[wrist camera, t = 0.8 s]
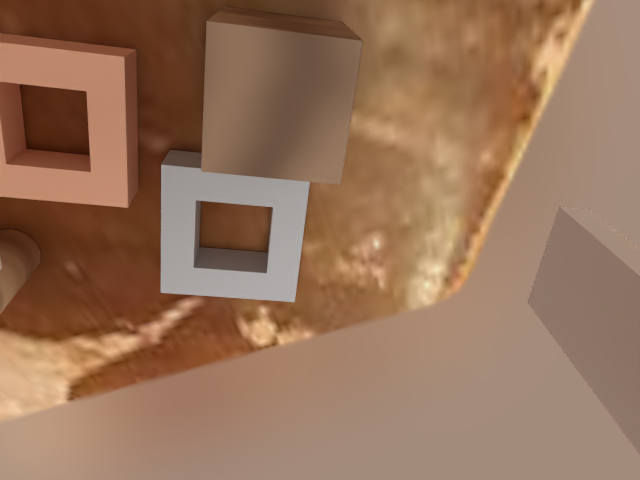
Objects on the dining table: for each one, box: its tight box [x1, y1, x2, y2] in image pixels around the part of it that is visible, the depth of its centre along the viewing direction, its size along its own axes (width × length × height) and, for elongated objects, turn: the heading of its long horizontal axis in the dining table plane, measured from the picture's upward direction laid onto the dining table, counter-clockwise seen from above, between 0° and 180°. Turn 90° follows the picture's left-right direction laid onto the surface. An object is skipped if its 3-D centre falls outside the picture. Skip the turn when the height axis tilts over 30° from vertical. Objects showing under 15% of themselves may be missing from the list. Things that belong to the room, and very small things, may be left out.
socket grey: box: [161, 150, 310, 302], centre depth 37 cm, size 9×9×3 cm
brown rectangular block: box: [201, 7, 363, 185], centre depth 30 cm, size 7×7×9 cm
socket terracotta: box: [0, 33, 139, 208], centre depth 33 cm, size 9×9×3 cm
